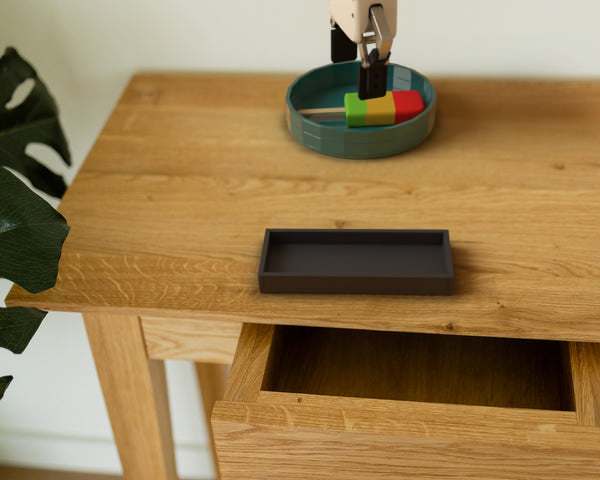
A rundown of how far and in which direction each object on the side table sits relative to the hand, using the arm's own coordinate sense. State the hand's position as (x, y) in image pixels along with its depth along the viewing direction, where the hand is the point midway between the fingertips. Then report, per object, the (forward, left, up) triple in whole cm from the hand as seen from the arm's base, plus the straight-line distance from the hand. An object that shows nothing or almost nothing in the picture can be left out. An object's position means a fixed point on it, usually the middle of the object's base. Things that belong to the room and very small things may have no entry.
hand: (357, 78), depth 88 cm
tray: (+9, +26, -5) cm, 28 cm away
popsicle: (0, 0, -5) cm, 5 cm away
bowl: (0, 0, -5) cm, 5 cm away
